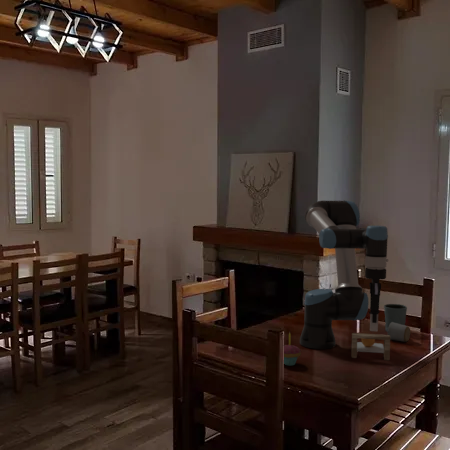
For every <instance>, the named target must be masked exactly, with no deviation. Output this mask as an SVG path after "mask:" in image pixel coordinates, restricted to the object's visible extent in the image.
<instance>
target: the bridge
mask: <svg viewBox="0 0 450 450" xmlns="http://www.w3.org/2000/svg"><path fill="white" fill-rule="evenodd" d="M358 339H361V340H362V339H375V340H379V341H383V347H384V353H383V360H384V361H390V357H391V356H390V355H391V340H390V335H388V334H374V333H363V332H362V333H360V332H358V333H357V332H352V333H351V352H350V353H351V358H352V359H357V358H358V356H357V355H358V351H357V342H358Z"/></svg>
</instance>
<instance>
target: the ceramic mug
mask: <svg viewBox="0 0 450 450" xmlns="http://www.w3.org/2000/svg"><path fill="white" fill-rule="evenodd" d="M387 335H390V341H392V340H393V341H396V342H402V343H407V342H408V341H409V339H410V337H411V328H410V327H409V326H408V325H401V324H398V323H394V322H391V323H390V325H389V327H388V332H387Z"/></svg>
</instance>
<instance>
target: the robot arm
mask: <svg viewBox="0 0 450 450" xmlns="http://www.w3.org/2000/svg"><path fill="white" fill-rule="evenodd" d="M360 217H361V216H360V210H359V207H358V204H357V203H355V201H352V200H344V199H343V200H317V201H316V202H314V203H311V204H310V205H309V206H308V207H307V208H306V209H305V214H304V219H305V222H306V224H308V226H309V227H311V228H313V229H315V231H316V232H317V234H319V237H318V239H319V240H318V241H319V246H320V247H321V248H322V249H329V250H331V249H333V250H334V253H335V263H336V276H337V287H335V289H334V292H333V290H332V289H330V288H317V289H312V290H308V291H307V292H306V293H305V296H304V316H303V317H304V320H303V321H304V324H303V329H302V331H301V335H300V336H299V345H301V346H302V347H305V348H308V349H315V350H326V349H333V348H334V347H336V341H337V340H336V337H335V334H334V330H333V326H332V325H333V321H353V322H354V321H362V320H363V319H365V318H366V316H367V313H368V315H369V317H370V318H369V319H370V320H369V331H370V332H378V330H379V314H380V313H381V311H380V296H381V289H382V284H381V282H380V280H382V281H383V280H385V279H387V262H389V259H388V258H387V257H388V238H389V235H388V228H387V227H386V226H384V225H368V226H366V228H364V227H363V228H357V227H358V226H359V225H360V221H361V220H360ZM356 249H360V250H361V249H363V250H365V260H364V261H365V262H364V266H365V267H366V268H364V271H365V272H364V277H365V279H368V280H371V282H369V294H370V306H369V295H368V293H367V292H363V287H362V286H361V285H360V284H359V279H358V270H357V267H358V266H357V256H356ZM369 308H370V310H369ZM368 310H369V311H368Z"/></svg>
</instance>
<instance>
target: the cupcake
mask: <svg viewBox="0 0 450 450" xmlns="http://www.w3.org/2000/svg"><path fill="white" fill-rule="evenodd" d="M291 335H292V334H291V330H290V331H289V333H288V344H284V345H283V346H284V364H285V365H286V366H289V367H290V366H291V367H292V366H295V365H296V362H297V360H298V358H299V357H300V356H301V354H302V351H301V349H300V348H299V347H298V346H296V345H294V344H291V340H292V339H291V337H292V336H291ZM284 364H283V365H284Z"/></svg>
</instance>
